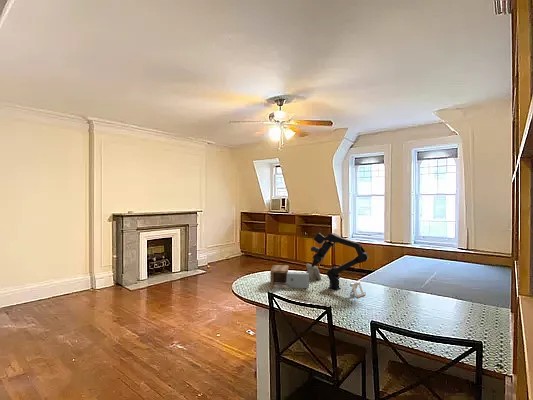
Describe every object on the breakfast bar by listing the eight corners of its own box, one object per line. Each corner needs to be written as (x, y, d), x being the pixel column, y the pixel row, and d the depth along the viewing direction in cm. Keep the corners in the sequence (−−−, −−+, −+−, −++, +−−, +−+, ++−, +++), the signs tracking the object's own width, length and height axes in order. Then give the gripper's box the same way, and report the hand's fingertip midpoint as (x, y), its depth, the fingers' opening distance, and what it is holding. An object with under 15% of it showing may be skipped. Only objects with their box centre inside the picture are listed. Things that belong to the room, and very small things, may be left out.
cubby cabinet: (290, 281, 245) (290, 265, 245) (289, 288, 227) (289, 270, 227) (273, 280, 247) (273, 264, 247) (270, 287, 229) (270, 270, 229)
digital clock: (321, 280, 249) (322, 267, 249) (311, 281, 247) (311, 267, 247) (314, 275, 265) (314, 262, 265) (304, 276, 263) (304, 263, 263)
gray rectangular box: (308, 286, 232) (308, 273, 232) (308, 288, 227) (308, 274, 227) (286, 285, 234) (287, 272, 234) (286, 287, 229) (286, 273, 229)
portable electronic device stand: (358, 298, 207) (358, 285, 206) (348, 295, 213) (348, 282, 213) (365, 295, 212) (365, 283, 212) (355, 292, 218) (355, 280, 218)
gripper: (318, 240, 241) (307, 257, 244) (313, 243, 224) (301, 261, 226) (330, 249, 238) (319, 265, 241) (326, 252, 220) (314, 270, 223)
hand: (313, 265), depth 233 cm, fingers open, 9 cm apart
